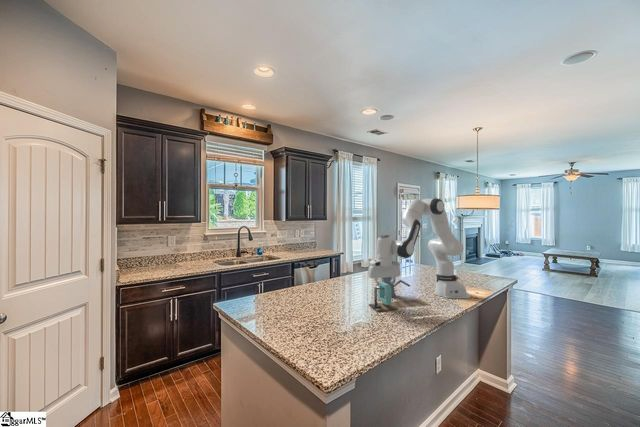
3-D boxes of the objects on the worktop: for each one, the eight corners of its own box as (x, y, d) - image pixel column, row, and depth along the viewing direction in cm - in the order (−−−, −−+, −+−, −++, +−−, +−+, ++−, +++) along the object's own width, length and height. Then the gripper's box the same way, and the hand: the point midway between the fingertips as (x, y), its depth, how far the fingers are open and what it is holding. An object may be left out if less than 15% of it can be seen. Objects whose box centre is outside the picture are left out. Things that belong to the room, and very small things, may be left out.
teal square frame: (382, 299, 176) (382, 281, 176) (391, 304, 165) (391, 285, 165) (378, 299, 175) (378, 281, 175) (386, 304, 164) (386, 286, 164)
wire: (407, 302, 176) (407, 278, 176) (412, 304, 172) (412, 280, 172) (370, 305, 170) (369, 281, 170) (373, 308, 165) (373, 283, 165)
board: (419, 300, 182) (419, 299, 182) (431, 306, 171) (431, 304, 171) (368, 305, 174) (368, 303, 174) (377, 312, 162) (377, 310, 162)
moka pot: (376, 297, 190) (376, 268, 190) (389, 293, 201) (389, 265, 201) (388, 300, 183) (388, 270, 183) (401, 295, 194) (401, 267, 194)
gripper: (397, 260, 175) (397, 282, 175) (366, 261, 171) (367, 284, 171) (402, 261, 169) (402, 284, 169) (371, 263, 164) (371, 287, 164)
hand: (384, 284), depth 170 cm, fingers open, 8 cm apart
